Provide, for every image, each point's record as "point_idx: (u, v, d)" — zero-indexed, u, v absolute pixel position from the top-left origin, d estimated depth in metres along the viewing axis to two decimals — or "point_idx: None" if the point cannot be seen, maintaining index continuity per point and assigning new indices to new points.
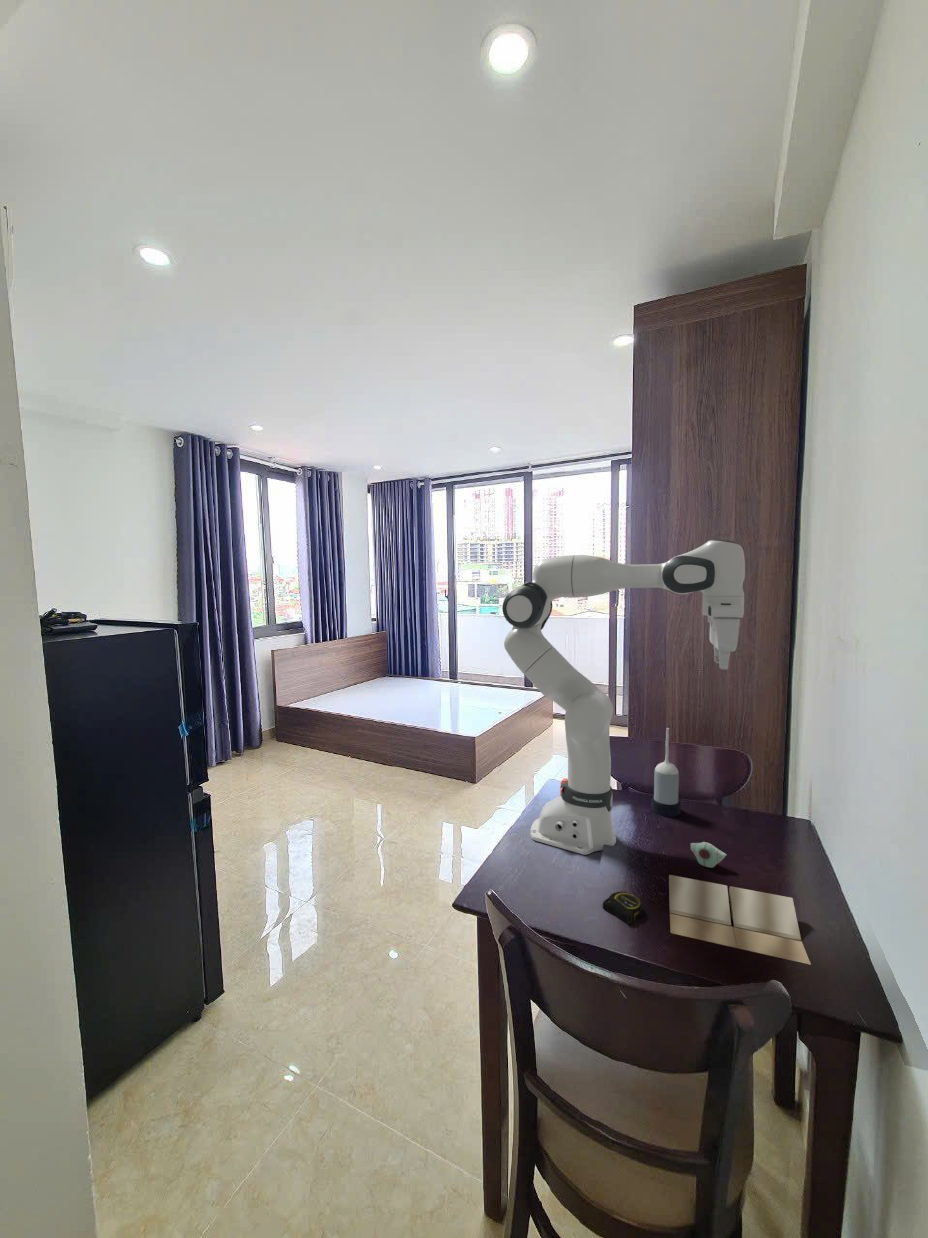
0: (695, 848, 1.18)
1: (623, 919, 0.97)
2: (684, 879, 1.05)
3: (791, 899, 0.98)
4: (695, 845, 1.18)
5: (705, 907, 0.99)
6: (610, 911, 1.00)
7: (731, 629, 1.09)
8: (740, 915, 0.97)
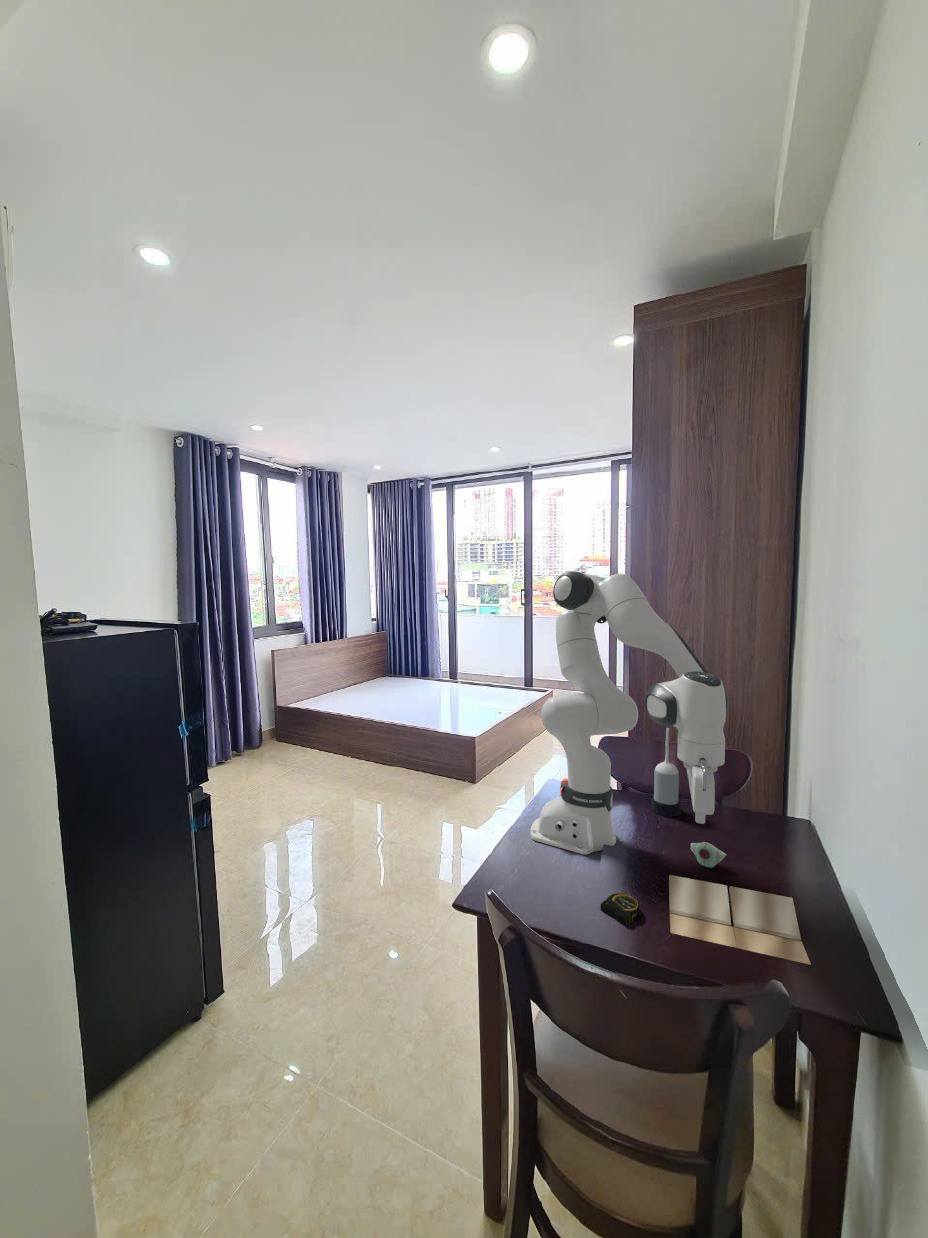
0: (695, 848, 1.18)
1: (621, 921, 0.97)
2: (684, 879, 1.05)
3: (791, 899, 0.98)
4: (695, 845, 1.18)
5: (705, 907, 0.99)
6: (608, 913, 0.99)
7: None
8: (740, 915, 0.97)
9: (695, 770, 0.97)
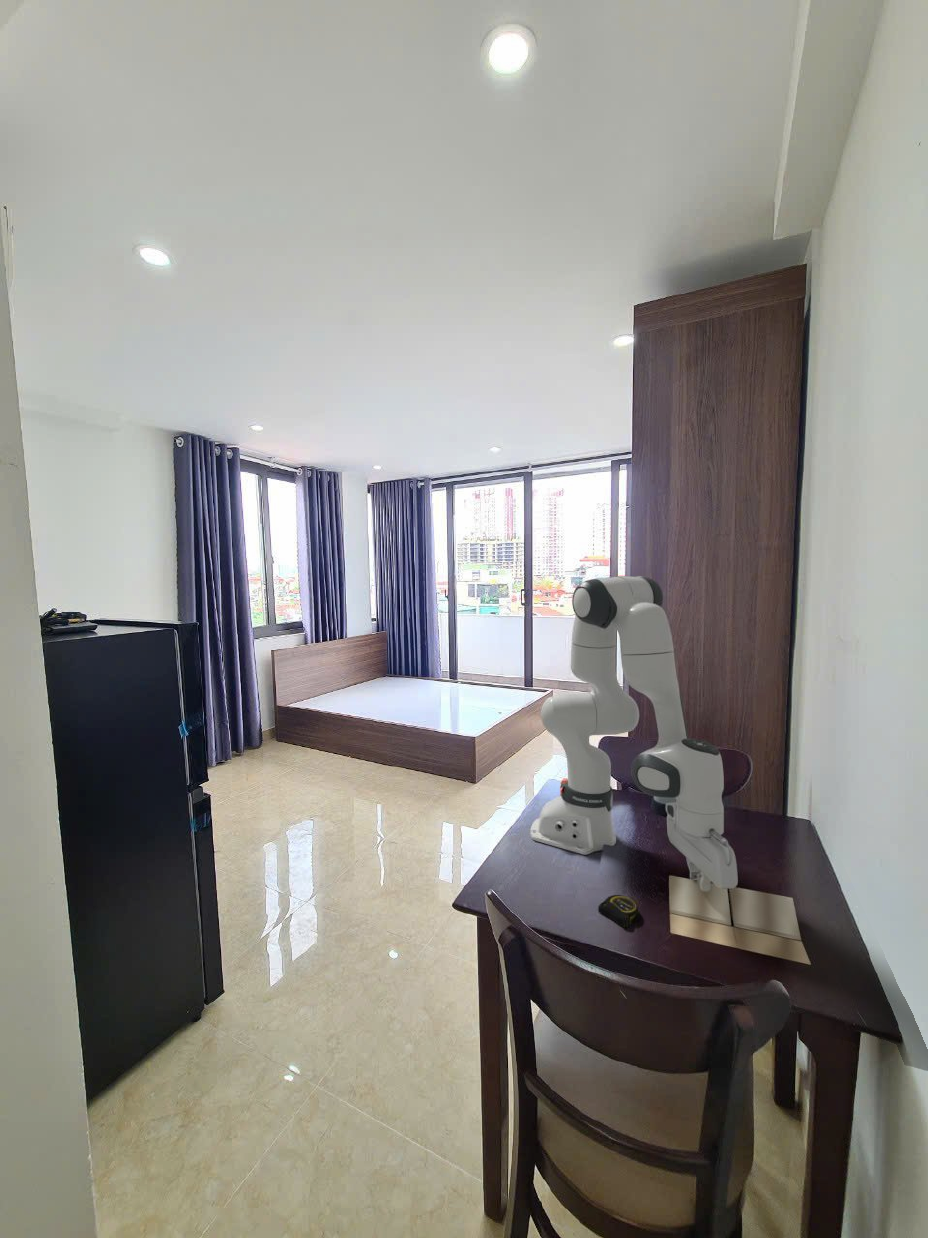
0: None
1: (619, 923, 0.96)
2: (684, 879, 1.05)
3: (791, 899, 0.98)
4: None
5: (705, 907, 1.00)
6: (606, 914, 0.99)
7: None
8: (740, 915, 0.97)
9: (712, 844, 0.96)
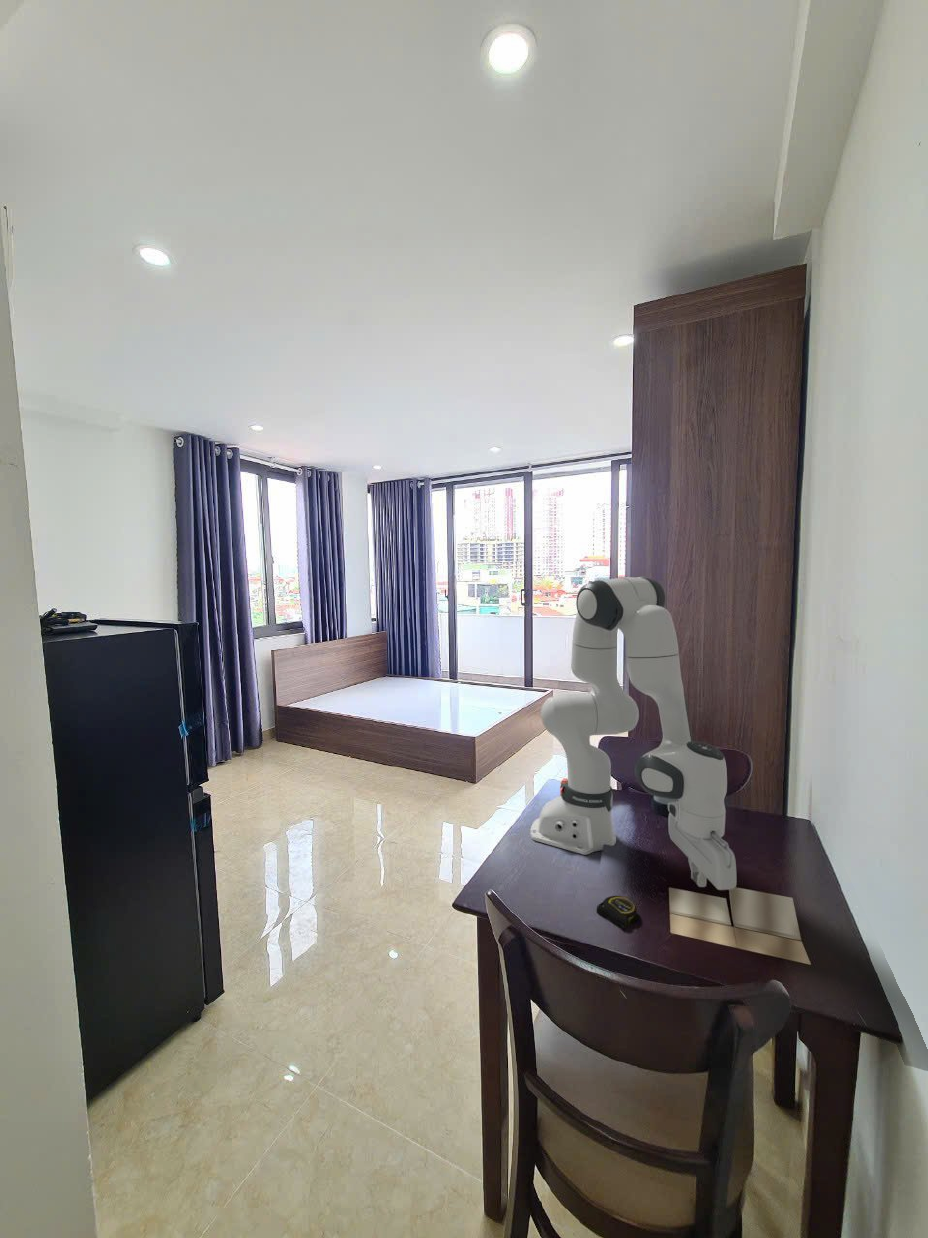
0: None
1: (617, 924, 0.96)
2: (683, 891, 1.06)
3: (791, 899, 0.98)
4: None
5: (705, 911, 1.00)
6: (604, 915, 0.99)
7: None
8: (740, 915, 0.97)
9: (713, 846, 0.98)
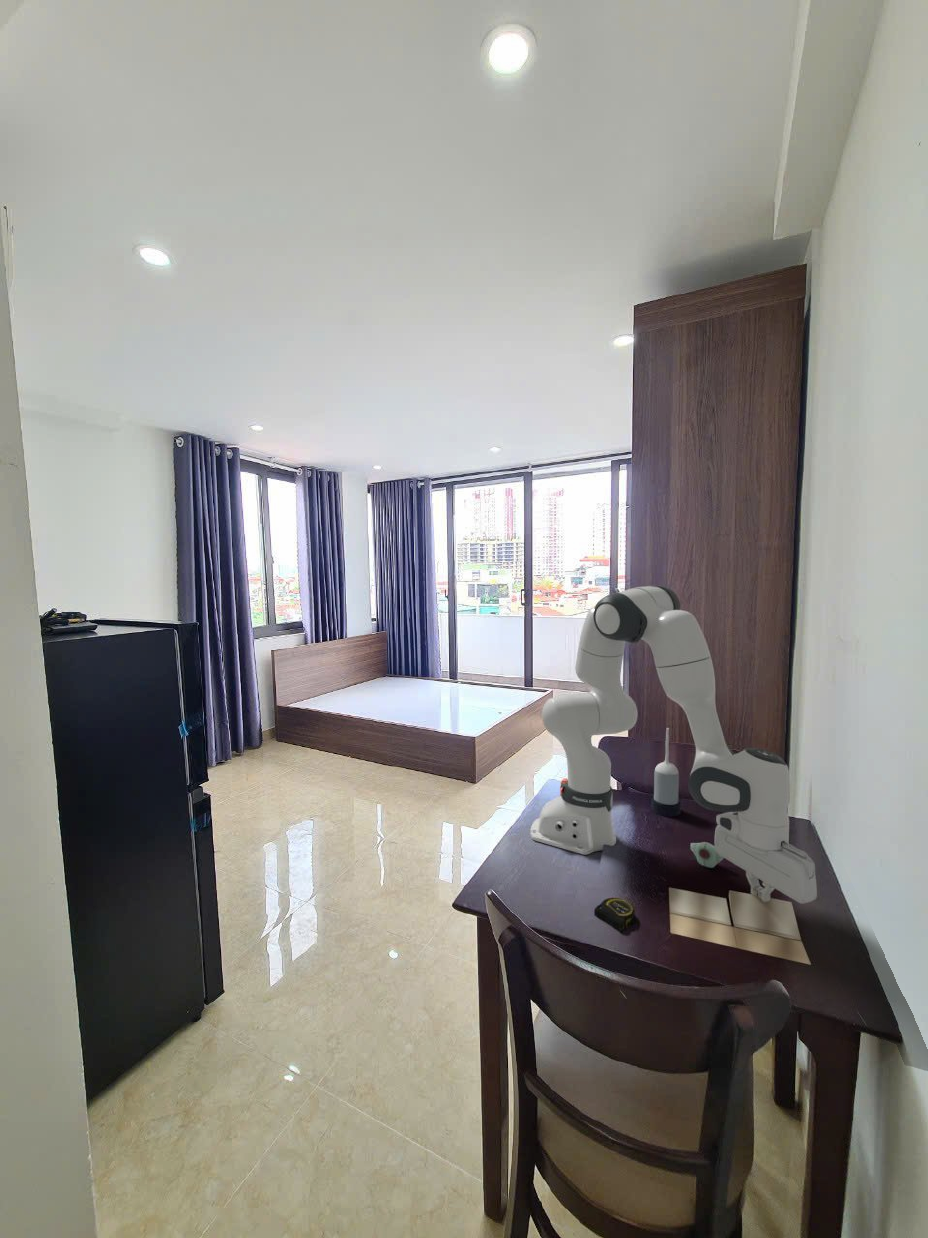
0: (695, 848, 1.18)
1: (615, 926, 0.95)
2: (683, 891, 1.06)
3: (790, 903, 0.98)
4: (695, 845, 1.18)
5: (705, 911, 1.00)
6: (602, 918, 0.98)
7: None
8: (740, 916, 0.97)
9: (789, 858, 0.93)
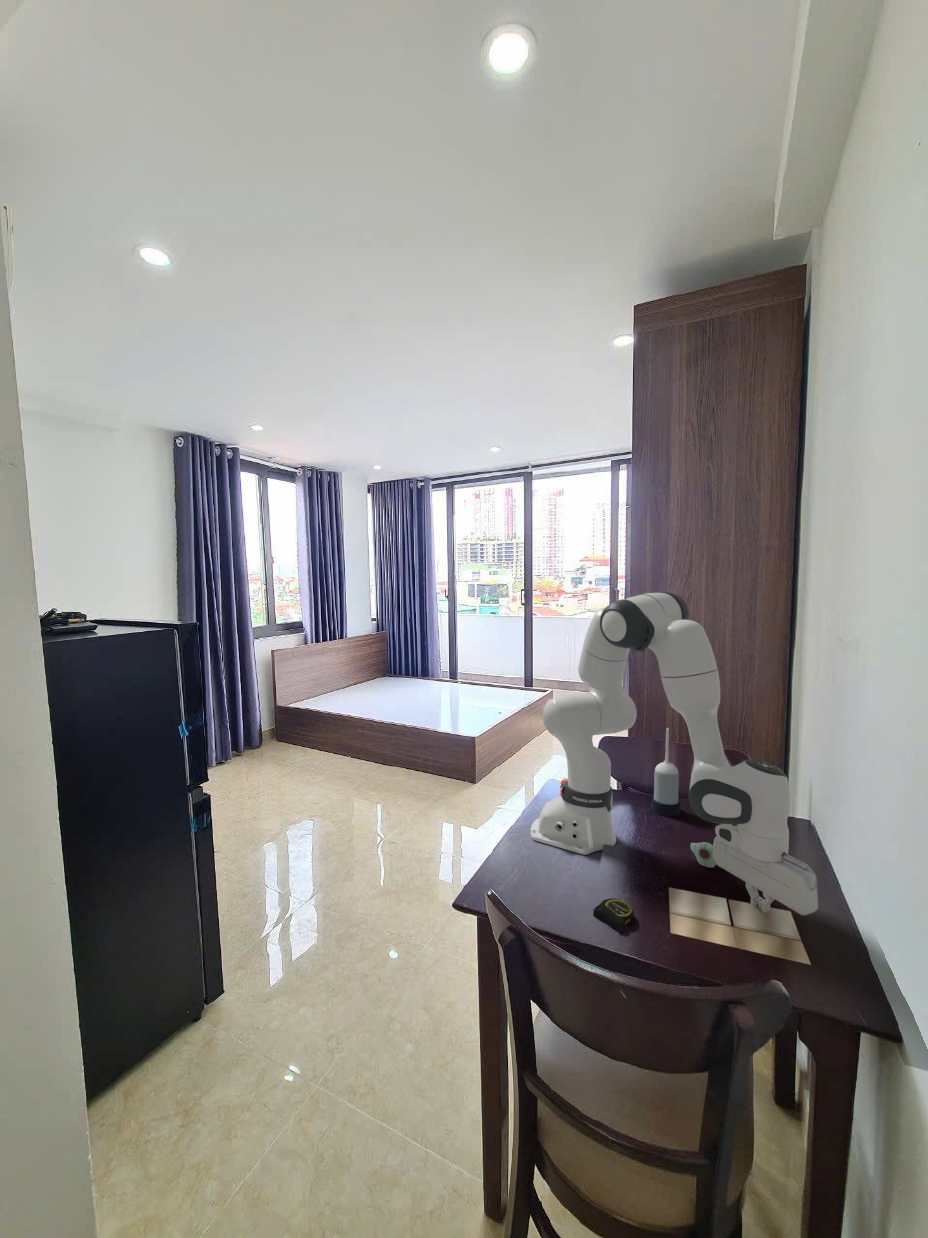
0: (695, 848, 1.18)
1: (614, 927, 0.95)
2: (683, 891, 1.06)
3: (789, 912, 0.99)
4: (695, 845, 1.18)
5: (705, 911, 1.00)
6: (601, 918, 0.98)
7: None
8: (740, 919, 0.97)
9: (791, 869, 0.93)
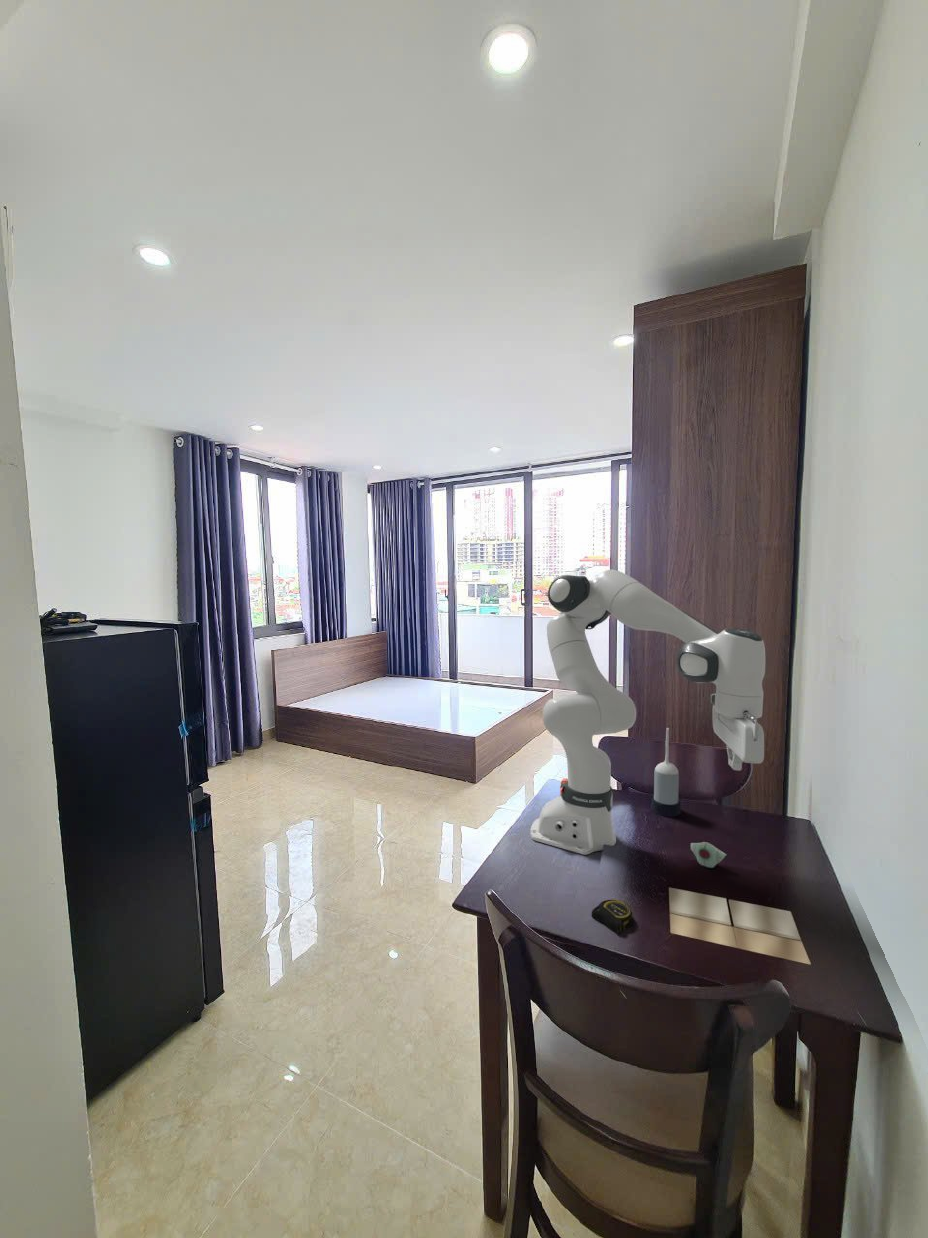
0: (695, 848, 1.18)
1: (612, 928, 0.95)
2: (683, 891, 1.06)
3: (789, 912, 0.99)
4: (695, 845, 1.18)
5: (705, 911, 1.00)
6: (599, 920, 0.97)
7: None
8: (740, 919, 0.97)
9: (742, 722, 1.00)
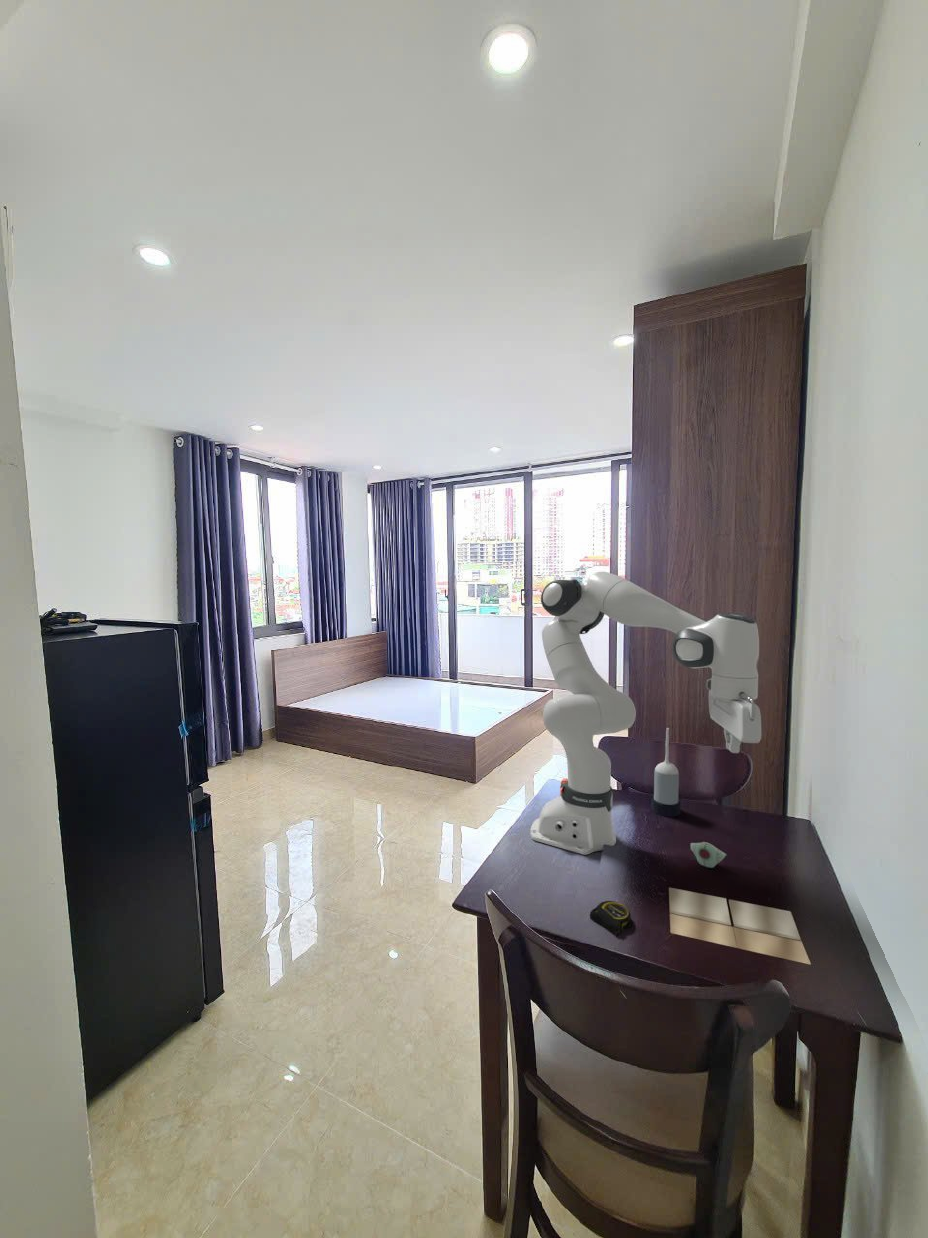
0: (695, 848, 1.18)
1: (610, 930, 0.94)
2: (683, 891, 1.06)
3: (789, 912, 0.99)
4: (695, 846, 1.18)
5: (705, 911, 1.00)
6: (597, 921, 0.97)
7: None
8: (740, 919, 0.97)
9: (739, 703, 1.01)
